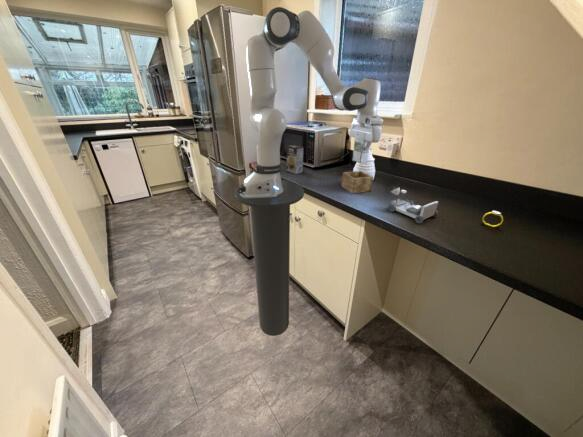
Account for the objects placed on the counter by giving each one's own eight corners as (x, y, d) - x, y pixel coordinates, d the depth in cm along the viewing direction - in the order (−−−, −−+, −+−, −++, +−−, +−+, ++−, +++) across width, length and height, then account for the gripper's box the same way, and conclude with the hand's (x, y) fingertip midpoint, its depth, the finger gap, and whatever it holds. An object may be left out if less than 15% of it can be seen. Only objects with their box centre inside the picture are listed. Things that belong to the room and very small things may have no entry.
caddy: (352, 193, 119) (354, 178, 115) (341, 186, 128) (342, 172, 124) (370, 191, 122) (373, 176, 118) (358, 184, 131) (360, 170, 128)
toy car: (387, 187, 99) (403, 182, 105) (382, 207, 104) (398, 202, 110) (428, 201, 86) (444, 195, 92) (421, 224, 91) (436, 217, 96)
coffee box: (286, 170, 152) (286, 145, 145) (293, 169, 156) (293, 144, 149) (295, 174, 146) (296, 148, 139) (302, 172, 150) (303, 146, 143)
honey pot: (362, 173, 150) (367, 144, 141) (378, 178, 140) (384, 148, 132) (347, 176, 144) (351, 146, 135) (363, 182, 134) (368, 150, 126)
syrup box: (368, 161, 117) (373, 131, 111) (360, 163, 114) (365, 132, 107) (359, 159, 121) (363, 129, 115) (351, 160, 118) (355, 130, 112)
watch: (479, 224, 92) (485, 210, 89) (480, 221, 94) (486, 208, 91) (498, 229, 88) (505, 215, 85) (499, 226, 90) (506, 213, 87)
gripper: (348, 116, 116) (345, 145, 123) (373, 120, 99) (368, 153, 106) (359, 116, 118) (355, 144, 125) (386, 120, 101) (379, 152, 108)
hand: (361, 148), depth 115 cm, fingers closed on syrup box, 6 cm apart
